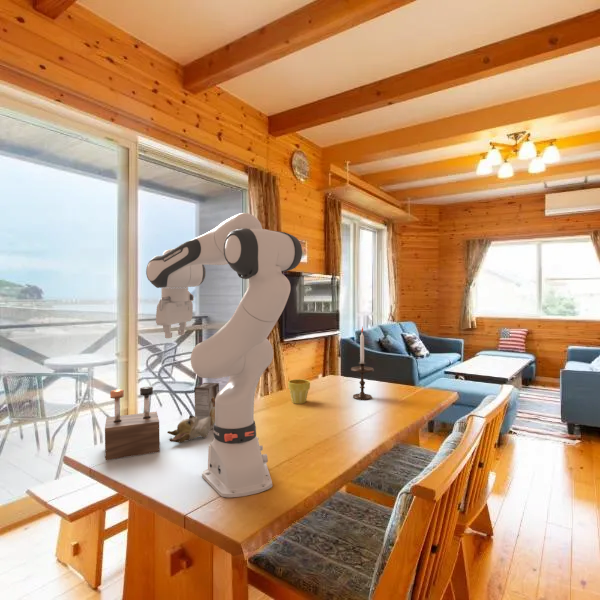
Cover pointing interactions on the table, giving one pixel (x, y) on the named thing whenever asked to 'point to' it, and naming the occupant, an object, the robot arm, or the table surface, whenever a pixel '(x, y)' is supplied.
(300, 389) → the plant pot
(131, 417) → the block
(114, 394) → the terracotta knob plunger
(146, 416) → the black knob plunger
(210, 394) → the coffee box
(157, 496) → the table surface
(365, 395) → the candlestick
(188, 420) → the ceramic sculpture
